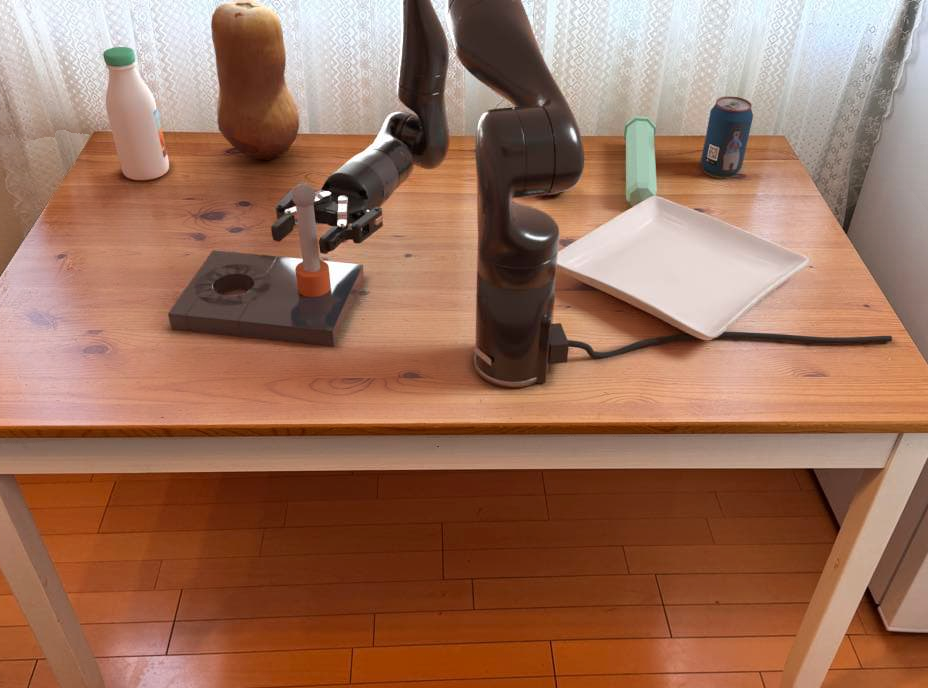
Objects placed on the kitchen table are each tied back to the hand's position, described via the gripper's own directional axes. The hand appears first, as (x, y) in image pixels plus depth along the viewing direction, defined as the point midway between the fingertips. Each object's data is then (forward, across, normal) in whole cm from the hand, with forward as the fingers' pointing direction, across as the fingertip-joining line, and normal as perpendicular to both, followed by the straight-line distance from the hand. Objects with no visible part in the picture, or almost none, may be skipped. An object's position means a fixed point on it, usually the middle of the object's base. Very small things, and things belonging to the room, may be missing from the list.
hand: (298, 241), depth 116 cm
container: (-58, +30, +11) cm, 66 cm away
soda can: (-66, +42, +11) cm, 79 cm away
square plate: (-30, +43, +11) cm, 54 cm away
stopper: (-2, 0, +8) cm, 9 cm away
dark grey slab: (0, -6, +11) cm, 12 cm away
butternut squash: (-38, -32, +11) cm, 51 cm away
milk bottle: (-24, -46, +11) cm, 53 cm away
